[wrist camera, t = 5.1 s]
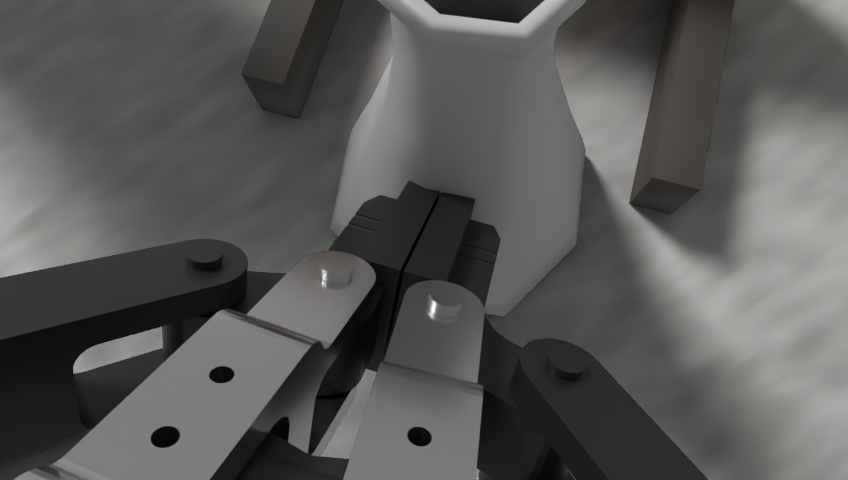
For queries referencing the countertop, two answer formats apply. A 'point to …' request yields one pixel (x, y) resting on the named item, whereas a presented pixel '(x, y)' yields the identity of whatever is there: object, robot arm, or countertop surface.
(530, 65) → the flask
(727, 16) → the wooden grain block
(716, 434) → the countertop surface
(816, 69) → the countertop surface
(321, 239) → the countertop surface
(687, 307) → the countertop surface
